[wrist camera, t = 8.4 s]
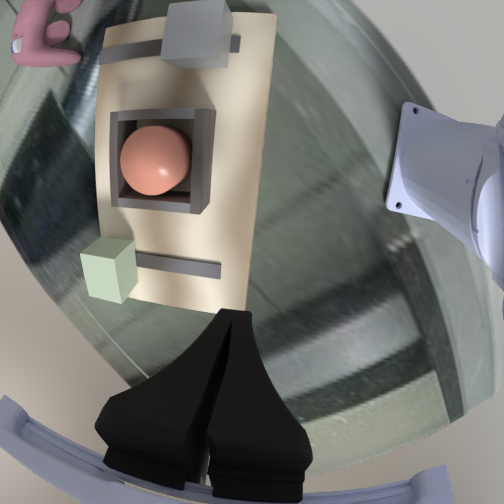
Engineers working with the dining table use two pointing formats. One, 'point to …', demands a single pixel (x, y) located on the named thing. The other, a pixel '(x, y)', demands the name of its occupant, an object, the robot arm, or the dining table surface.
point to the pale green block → (110, 268)
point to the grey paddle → (197, 34)
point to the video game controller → (42, 34)
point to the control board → (203, 160)
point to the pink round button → (156, 159)
